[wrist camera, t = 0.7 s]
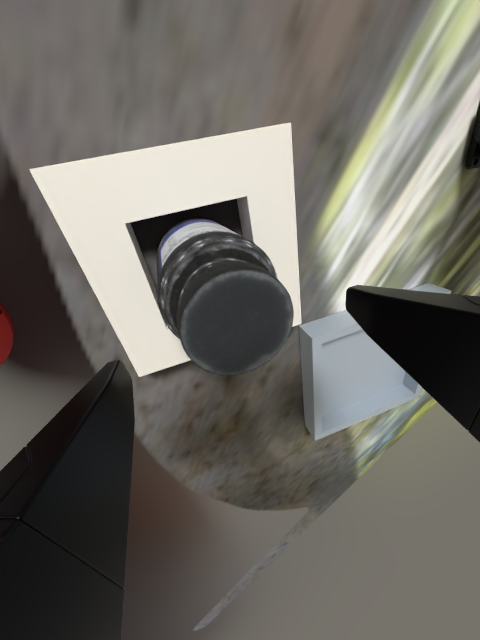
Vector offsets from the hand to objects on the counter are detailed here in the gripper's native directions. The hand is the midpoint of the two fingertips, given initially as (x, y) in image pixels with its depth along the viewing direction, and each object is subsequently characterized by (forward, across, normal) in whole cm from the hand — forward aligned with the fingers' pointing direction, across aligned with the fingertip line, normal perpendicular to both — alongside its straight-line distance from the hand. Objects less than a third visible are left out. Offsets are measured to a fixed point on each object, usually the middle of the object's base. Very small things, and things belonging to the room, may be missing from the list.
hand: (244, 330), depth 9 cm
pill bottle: (+12, 0, 0) cm, 12 cm away
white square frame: (+11, 0, 0) cm, 11 cm away
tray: (+11, -16, +17) cm, 26 cm away
